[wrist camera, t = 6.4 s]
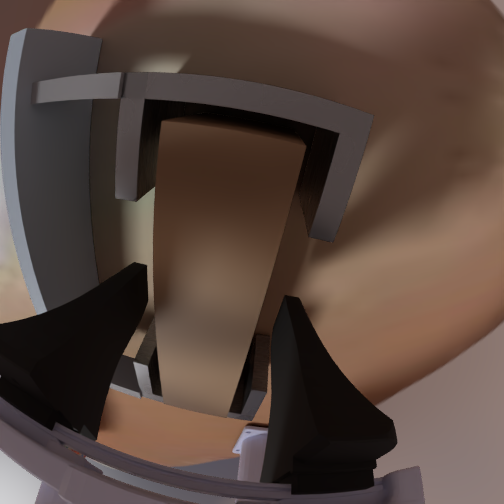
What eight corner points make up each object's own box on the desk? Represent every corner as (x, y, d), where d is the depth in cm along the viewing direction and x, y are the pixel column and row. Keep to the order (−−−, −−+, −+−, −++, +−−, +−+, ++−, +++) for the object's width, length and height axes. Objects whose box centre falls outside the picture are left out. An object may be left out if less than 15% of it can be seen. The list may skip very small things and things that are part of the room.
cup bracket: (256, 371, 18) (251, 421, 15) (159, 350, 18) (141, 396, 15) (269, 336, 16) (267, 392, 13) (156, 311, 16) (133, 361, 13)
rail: (236, 352, 18) (226, 418, 13) (183, 340, 18) (163, 403, 13) (292, 128, 10) (306, 146, 6) (207, 112, 10) (161, 121, 6)
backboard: (160, 366, 19) (141, 420, 15) (103, 347, 19) (78, 396, 15) (181, 34, 8) (122, 1, 4) (86, 41, 8) (11, 34, 4)
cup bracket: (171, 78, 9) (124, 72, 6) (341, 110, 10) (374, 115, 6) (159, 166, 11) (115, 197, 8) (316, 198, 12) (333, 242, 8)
